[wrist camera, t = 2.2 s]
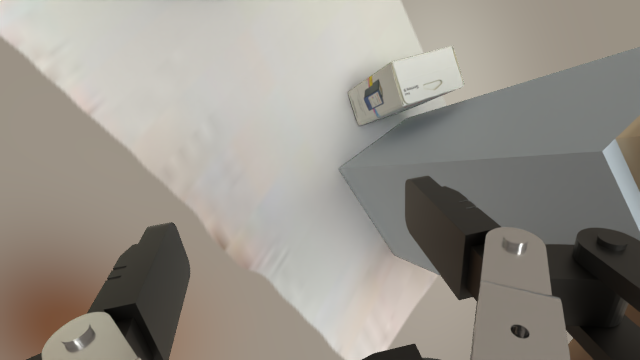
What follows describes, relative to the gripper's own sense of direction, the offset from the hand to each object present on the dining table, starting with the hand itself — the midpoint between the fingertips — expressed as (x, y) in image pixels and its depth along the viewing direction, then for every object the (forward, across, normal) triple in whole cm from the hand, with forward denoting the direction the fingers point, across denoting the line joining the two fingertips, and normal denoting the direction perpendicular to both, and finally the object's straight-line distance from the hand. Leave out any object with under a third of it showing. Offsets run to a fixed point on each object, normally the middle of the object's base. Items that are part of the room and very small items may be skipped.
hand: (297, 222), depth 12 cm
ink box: (+35, -15, +5) cm, 38 cm away
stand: (+30, -16, +17) cm, 38 cm away
